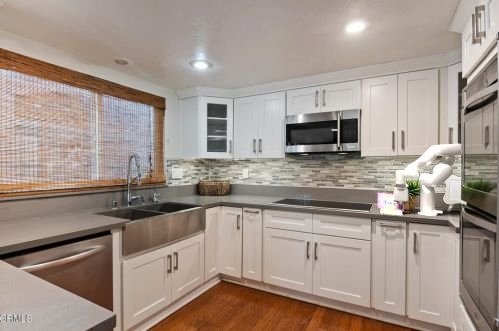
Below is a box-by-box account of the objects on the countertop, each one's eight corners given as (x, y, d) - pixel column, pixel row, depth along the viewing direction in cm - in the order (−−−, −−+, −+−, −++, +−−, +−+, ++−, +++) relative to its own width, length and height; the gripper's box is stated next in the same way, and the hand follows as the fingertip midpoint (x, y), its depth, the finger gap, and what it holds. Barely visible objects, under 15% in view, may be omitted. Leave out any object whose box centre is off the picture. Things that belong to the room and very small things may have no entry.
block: (394, 209, 213) (394, 204, 213) (393, 210, 209) (393, 205, 209) (388, 209, 215) (388, 204, 215) (388, 209, 212) (388, 204, 212)
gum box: (376, 207, 243) (376, 192, 243) (383, 206, 245) (383, 192, 244) (396, 211, 219) (396, 195, 219) (404, 211, 221) (404, 195, 221)
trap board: (402, 212, 216) (402, 208, 216) (401, 215, 206) (401, 211, 206) (381, 210, 224) (381, 207, 224) (380, 213, 214) (380, 209, 214)
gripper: (412, 186, 208) (411, 209, 208) (390, 185, 216) (390, 208, 216) (412, 187, 201) (411, 211, 202) (389, 186, 209) (389, 209, 209)
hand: (400, 209), depth 209 cm, fingers closed
